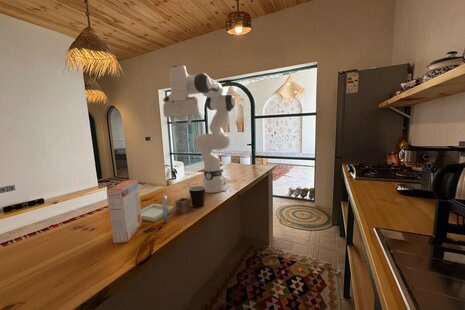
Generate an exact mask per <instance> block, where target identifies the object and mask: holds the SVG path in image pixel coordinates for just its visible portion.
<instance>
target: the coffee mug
mask: <svg viewBox="0 0 465 310" xmlns="http://www.w3.org/2000/svg"><path fill="white" fill-rule="evenodd" d="M188 191H189V199H190V202H191V208H193V209H201V208H203V207H204V206H205V195H206V192H205V187H203V185H197V186H192V187H189V189H188Z"/></svg>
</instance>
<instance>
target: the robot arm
mask: <svg viewBox="0 0 465 310" xmlns="http://www.w3.org/2000/svg"><path fill="white" fill-rule="evenodd" d="M169 83H170V89H171V90H170V94H168V95H167V96H165V97H163V98H162V101H163V102H164V103H163V107H162V111H163V116H164V117H165V118H169V119H170V121H171V123H172V126H177V121H175V119H176V118H177V117H188V120H187V121H186V125H188V126H189V125H192V120H193V119H194V116H199V113H200V110H199V104H198V103H199V101H198V98H197V97H195V96H190V95H197V94H202V95H203V96H204V97H206V99H205V104H206V105H205V106H206V108H207V109H208V110H210V111H216V112H215V113H214V115H213V117H212V119H211V121H210V124H209V127H208V128H209V130H210V131H209V132H210V133H202V134H198V135H196V136H195V137H194V139H193V147H195V148H196V149H197V150H198V151H199V152H200V154H201V156H202V159H203V166H204V170H203V176H204V177H203V178H202V186H203V187H205V193H214V194H215V193H220V192H226V191H227V190H228V189H229V188H230V186H231V184H230V183H228V182H227V177H226V176H224V174H223V173H224V168H221V159H220V157H219V156H218V155H216V153H214V151H220V150H221V151H222V150H226V149H227V148H228V147H229V145H230V141H231V140H230V137H229V136H228V135H227V134H226V133H225V131H226V127H227V124H228V121H229V113H230V112H231V111H232V110H233V109H234V107H235V105H236V98H235V96H234V95H233V94H231V93H223V91H224V89H223V88H224V87H223V86H222V84H221V83H220V82H218V81H217V80H215V79H212V78H210V76H209V75H208V74H206V73H205V72H201V73H198V74H192V75H191V74H188V72H187V68H186V66H185V65H184V64H183V65H182V64H181V65H179V64H177V65H173V66H171V68H170V69H169Z"/></svg>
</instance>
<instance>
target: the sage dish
mask: <svg viewBox="0 0 465 310" xmlns="http://www.w3.org/2000/svg"><path fill="white" fill-rule="evenodd" d="M167 209H168V215H169V214H171V213H173V212H176V209H175V206H172V205H167ZM141 217H142V221H147V222H152V223H155V222H157V221H159V220H161V219H162V218H163V205H162V204H157V203H152V204H150V205H147V206H146V207H144V208H142V209H141Z"/></svg>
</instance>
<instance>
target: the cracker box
mask: <svg viewBox="0 0 465 310" xmlns="http://www.w3.org/2000/svg"><path fill="white" fill-rule="evenodd" d="M139 189H140V188H139V181H138V179H133V180H132V179H131V180H130V179H128V180H126V179H125V180H124V181H122V182H120V183H118V184H115V185H114V186H112V187H110V188H108V189H106V197H107V206H108V213H109V219H110V228H111V235H112V243H113V244H123V243H129V242H130V241H131V239H132V238H133V237H134V236H135V235H136V233H137V232H138V231H139V230H140V229H141V227H142V226H143V220H142V217H141V208H142V207H141V199H140V192H139V191H140V190H139Z"/></svg>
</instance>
